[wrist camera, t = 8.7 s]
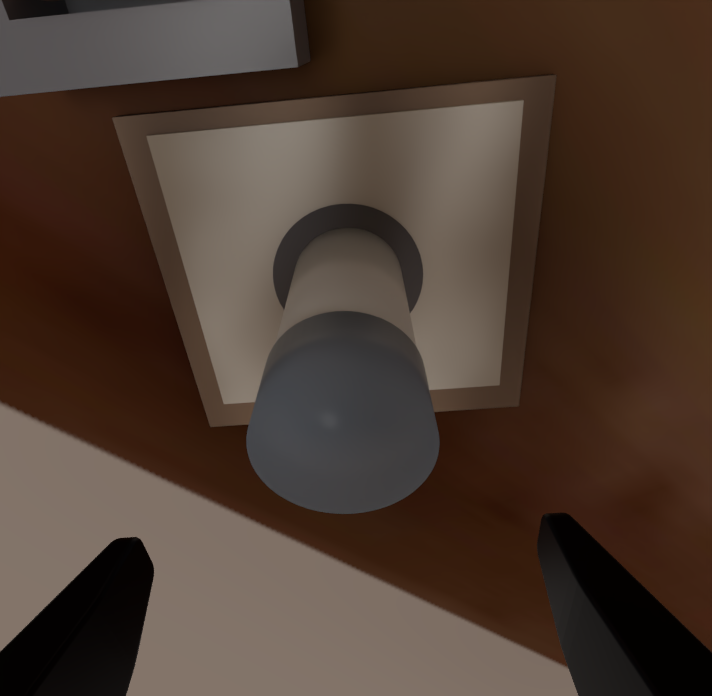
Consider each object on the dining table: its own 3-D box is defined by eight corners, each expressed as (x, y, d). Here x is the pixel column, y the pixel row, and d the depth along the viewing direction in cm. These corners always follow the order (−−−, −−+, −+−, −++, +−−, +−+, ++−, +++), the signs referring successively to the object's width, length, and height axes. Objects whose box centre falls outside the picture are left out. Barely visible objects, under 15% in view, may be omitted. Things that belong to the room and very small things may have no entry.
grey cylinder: (402, 219, 17) (439, 362, 10) (406, 324, 19) (439, 508, 12) (283, 230, 17) (227, 377, 10) (300, 332, 20) (265, 518, 12)
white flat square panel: (551, 74, 15) (565, 76, 14) (516, 400, 22) (524, 418, 21) (117, 116, 16) (101, 120, 15) (212, 421, 23) (205, 439, 22)
